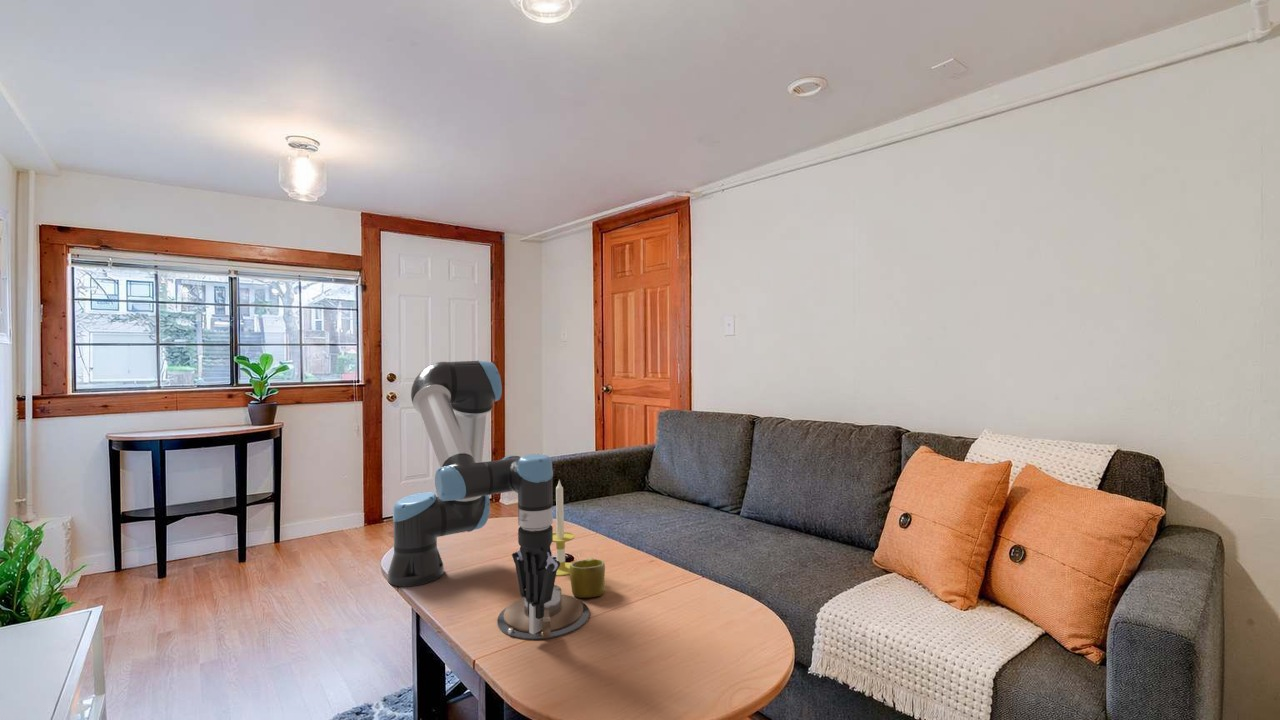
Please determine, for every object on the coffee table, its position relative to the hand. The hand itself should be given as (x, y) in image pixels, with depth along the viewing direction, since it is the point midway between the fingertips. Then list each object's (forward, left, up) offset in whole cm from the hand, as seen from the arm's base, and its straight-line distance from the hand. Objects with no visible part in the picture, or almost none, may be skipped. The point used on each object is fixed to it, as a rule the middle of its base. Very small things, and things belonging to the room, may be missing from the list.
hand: (535, 631), depth 127 cm
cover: (-7, +9, -1) cm, 12 cm away
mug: (-8, +27, -3) cm, 29 cm away
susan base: (-7, +9, -2) cm, 12 cm away
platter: (-5, +8, -1) cm, 10 cm away
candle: (-25, +34, -3) cm, 43 cm away
